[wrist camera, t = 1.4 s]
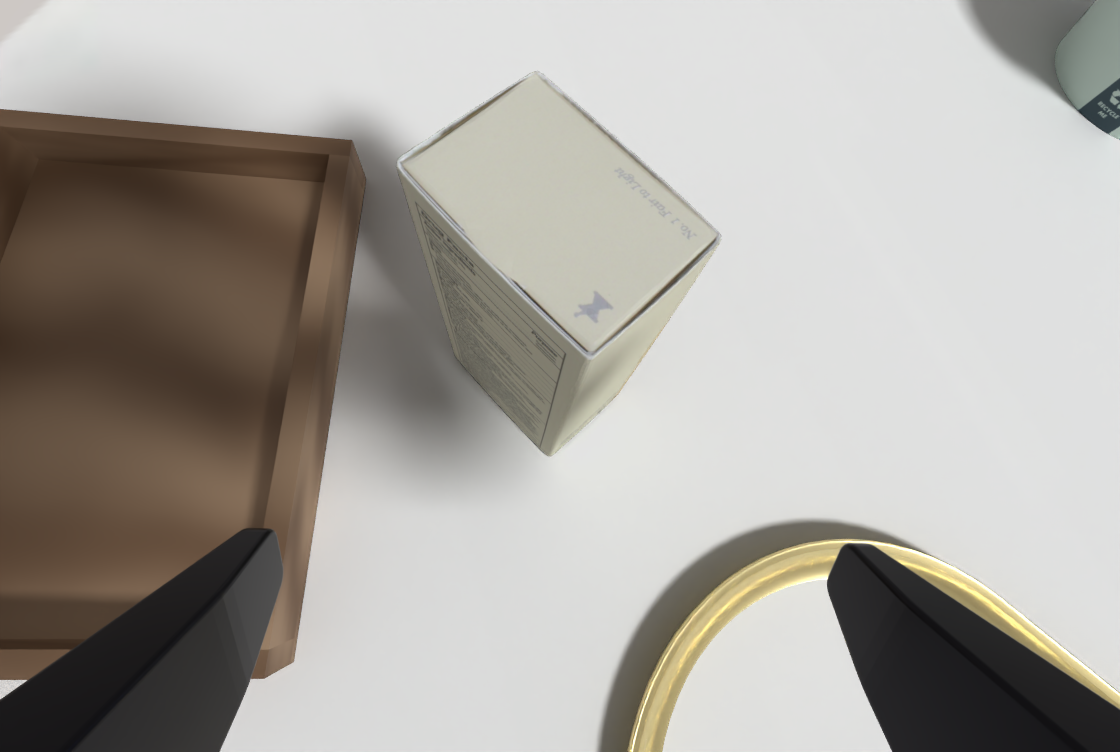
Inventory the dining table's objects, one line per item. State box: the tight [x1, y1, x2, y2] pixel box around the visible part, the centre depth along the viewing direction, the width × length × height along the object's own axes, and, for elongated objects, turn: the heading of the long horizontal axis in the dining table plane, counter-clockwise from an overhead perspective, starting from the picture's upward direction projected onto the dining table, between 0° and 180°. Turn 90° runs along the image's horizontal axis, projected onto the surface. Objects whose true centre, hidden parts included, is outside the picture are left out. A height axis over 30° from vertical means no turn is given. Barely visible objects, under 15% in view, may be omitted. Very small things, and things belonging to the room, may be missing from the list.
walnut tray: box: [0, 109, 366, 680], centre depth 20 cm, size 20×14×2 cm
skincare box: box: [397, 71, 721, 456], centre depth 17 cm, size 6×4×12 cm
